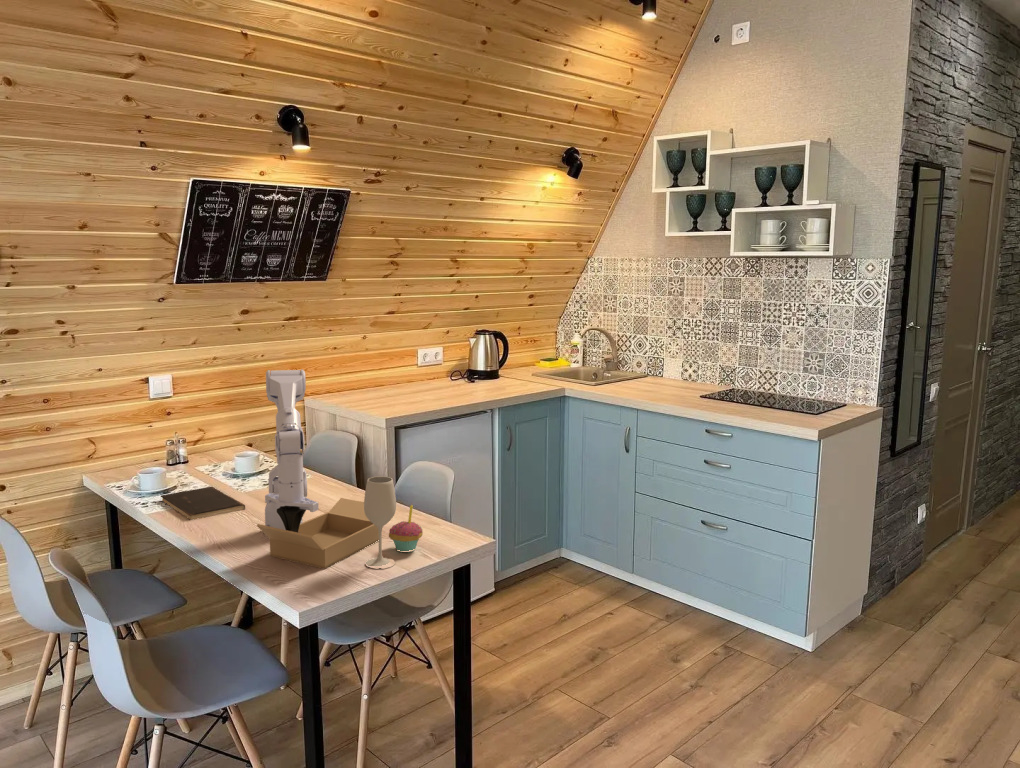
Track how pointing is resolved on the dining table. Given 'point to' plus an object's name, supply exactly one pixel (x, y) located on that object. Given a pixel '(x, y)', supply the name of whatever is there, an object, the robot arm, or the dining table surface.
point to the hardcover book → (202, 502)
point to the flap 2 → (349, 508)
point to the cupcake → (405, 534)
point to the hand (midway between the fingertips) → (292, 535)
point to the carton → (328, 540)
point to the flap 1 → (290, 537)
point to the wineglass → (379, 509)
